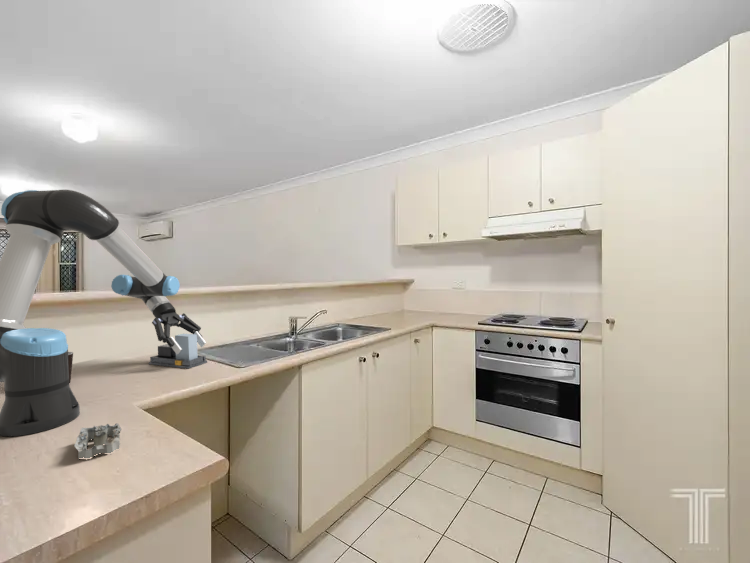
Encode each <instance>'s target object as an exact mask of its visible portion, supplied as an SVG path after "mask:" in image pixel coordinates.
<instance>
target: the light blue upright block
mask: <svg viewBox="0 0 750 563" xmlns="http://www.w3.org/2000/svg"><path fill="white" fill-rule="evenodd" d="M174 339H175V341H176V342H177V343H178V345H179V346H180V347H181V349H182V350H181V351H180V353H179V354H176V359H181V360H192V359H195V358H198V355H199V354H198V342H197V335H196V334H192V333H180V334H177V335H176V334H175V335H174Z"/></svg>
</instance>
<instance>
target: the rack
mask: <svg viewBox="0 0 750 563" xmlns="http://www.w3.org/2000/svg"><path fill="white" fill-rule="evenodd" d="M149 358H150V359H149V362H148V365H151V364H152V365H151V366H159V365H160V366H161V367H168V366H169V367H170V368H177V367H178V369H179V368H180V369H185V368H186V369H188V370H189V368H190V369H192V368H195V367H198V366H201V365H204V364H207V363H208V360H206V359H207V358H206V355H199V354H198V358H195V359H192V360H181V359H176V353H175V351H174V350H173V349H172V347H169V345H168V344H167V343H164V344H162V345H157V354H156V355H153V356H150V357H149ZM186 369H185V370H186Z"/></svg>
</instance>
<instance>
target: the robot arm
mask: <svg viewBox="0 0 750 563" xmlns="http://www.w3.org/2000/svg"><path fill="white" fill-rule="evenodd" d="M0 210H1V212H0V213H1V215H2V216H3V218H2V219H3V221H4V222H5V224H6V225H5V227H4V228H5V230H6V231H7V232H8V233H9V239H8V240H7V243H6V245H5V248H4V250H3V252H2V256H1V258H0V383H3V384H4V397H5V398H4V401H3V404H2V405H1V409H0V436H2V437H18V436H26V435H32V434H36V433H40V432H45V431H47V430H52V429H54V428H57V427H60V426H63V425H65V424H68V423H70V422H73V420H75V419H77V418H78V417H79V415H80V414H81V411H80V410H81V409H80V404H79V402H78V400H77V398H76V396H75V394H74V391H73V390H72V389H71V386H70V383H69V364H68V352H69V344H68V341H67V335H66V333H65V332H64V331H62V330H60V329H56V328H50V327H40V328H36V327H35V328H34V327H30V328H28V327H27V328H26V327H25V325H24V322H25V320H26V317H27V314H28V312H29V309H30V307H31V306H30V305H31V304H32V301H33V297H34V294H35V293H36V289H37V286H38V283H39V280H40V278H41V275H42V273H43V270H44V266H45V264H46V261H47V257H48V256H49V253H50V250H51V247H52V246H53V245H55V244H58V243H60V242H61V239H62V237H63V234H64V231H65V232H66V231H75V232H78V233H81V234H82V235H84V236H85V237H86V238H87V239H88V240H91V241H96V242H97V243H98V244H99V245H101V247H102V248H104V249H105V250H106V251H107V252H108V253H109V254H110V255H111V256H112V257H113V258H115V259H116V260H117V261H118V263H120V264H121V265H122V266H123V267H124V268H125V269H126V270H127V271H129V272H130V273H131V275H129V274H118V275H116V276H115V277H114V278H113V279H112V281H111V290H112V292H114V293H115V294H118V295H120V296H126V297H130V298H136V299H140V300H142V301H143V303H144V304H145V305H146V307H147V308H148V310H149V311H150V312H151V313H152V315H153V316H154V318H153V320H152V321H151V324H152V325H153V326H154V330H155V332H156V337H157V341H159V342H162V343H164V344H168V345H169V347H172V349H173V350H174V351H175V353H176V354H179V353H180V351H181V350H182V349H181V347H180V346H179V345H178V343H177V342H176V341H175V337H173V336H171V328H172V327H177V328H181V329H182V330H185V331H186V332H189V334H196V335H197V345H199V347H201V348H204V346H205V345H206V344H207V342H206V340H205V339H204V338H203V335H202V334H201V332H200V331H201V329H202V327H201V326H200V325H198V324H197V323H196V322H194V321H193V320H192V319H191V318H190V317H188V315H187V314H186V313H182V314H178V313H177V311H176V308H175V307H174V305H173V304H172V303H171V301H170V300H169V298H167V297H169V296H170V297H172V296H175V295H176V294H178V293H179V290H180V286H181V284H180V281H179V279H178V278H177V277H175V276H174V275H173V276H171V275H166V274H165V273H164V272H163V270H161V269H160V267H158V266H157V265H156V263H155V262H154V261H153V260H152V259H150V257H149V256H148V255H147V254H146V253H145V252H144V251H143V250H142V249H141V248H140V247H139V246H138V244H136V242H135V241H134V240H133V239H132V238H131V237H130V236H129V235H128V234H127V233H126V232H125V230H124V229H122V228H121V226H120V221H119V219H118V218H117V217H116V216H115V215H114V214H113V213H112V212H111V211H110V210H109V209H107V208H106V207H105V206H104V205H102V204H101V203H100V202H98V201H97V200H96V199H94V198H92V197H90V196H89V195H86V194H84V193H82V192H80V191H77V190H72V189H54V190H53V189H52V190H33V189H31V190H29V189H28V190H24V191H18V192H15V193H11V195H9V196H7V197H6V198H5V199H4V200H3V202H2V205H1V208H0Z"/></svg>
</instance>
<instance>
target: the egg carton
mask: <svg viewBox="0 0 750 563" xmlns="http://www.w3.org/2000/svg"><path fill="white" fill-rule="evenodd" d="M121 432H122V428H121V426H120V424H119V423H115V424H114V425H110V424H109V423H107V424H105V425H102V424H101V425H98V426H96V425H93V426H92V427H81V428H80V432H79V434H78V436H77V437H76V440H75V443H74V448H75V449H76V450H77V451H78V452H77V453H78V457H77V458H78V459H79V458H83V457H84V458H90V457H93V456H94V455H96V454H99V453H111V452H113V451H114V450H116V449H119V448H121V447H120V446H121V438H120V437H121V434H120V433H121ZM110 435H111V436H112V438H111V439H108V437H111V436H110ZM91 439H94V440H93V446H92V447H91V448H90V449H88V448H87V446H88V447H89V442H90V441H89V440H91ZM88 441H89V442H88ZM91 441H92V440H91ZM103 444H105V445H103ZM94 445H95V446H94ZM119 450H120V449H119Z"/></svg>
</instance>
